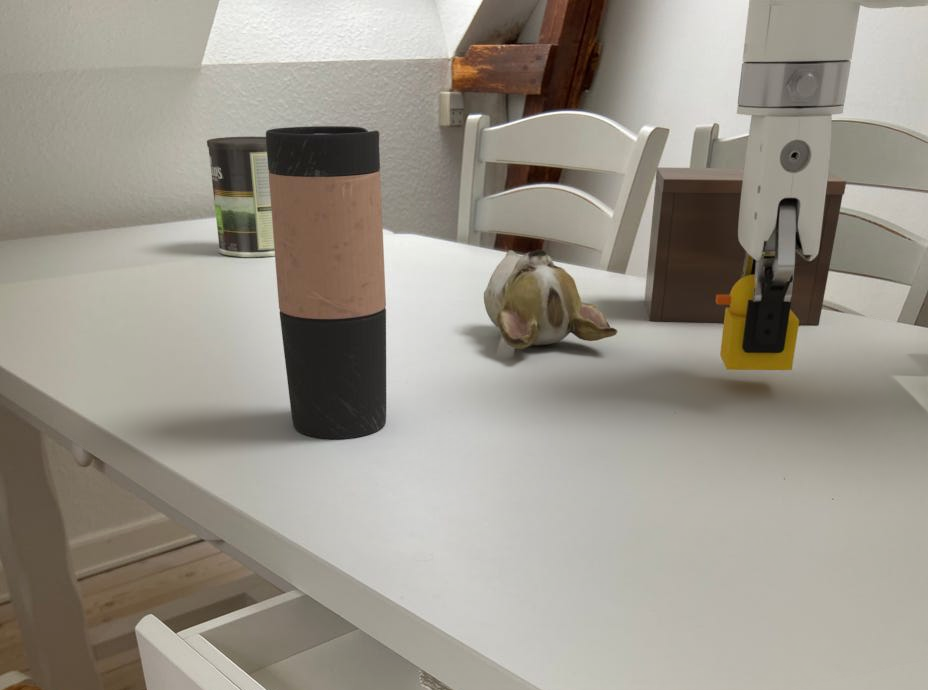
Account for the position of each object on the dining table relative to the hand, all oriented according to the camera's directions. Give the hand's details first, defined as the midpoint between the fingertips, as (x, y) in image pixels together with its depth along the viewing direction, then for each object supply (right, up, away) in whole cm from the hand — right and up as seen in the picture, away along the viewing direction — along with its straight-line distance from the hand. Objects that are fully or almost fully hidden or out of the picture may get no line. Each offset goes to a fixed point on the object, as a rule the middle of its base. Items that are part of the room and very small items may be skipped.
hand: (757, 341), depth 82 cm
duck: (0, -2, +1) cm, 2 cm away
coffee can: (-52, +30, +58) cm, 84 cm away
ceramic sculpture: (-17, +4, +15) cm, 23 cm away
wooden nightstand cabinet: (+5, +11, +26) cm, 28 cm away
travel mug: (-34, -8, -6) cm, 35 cm away
